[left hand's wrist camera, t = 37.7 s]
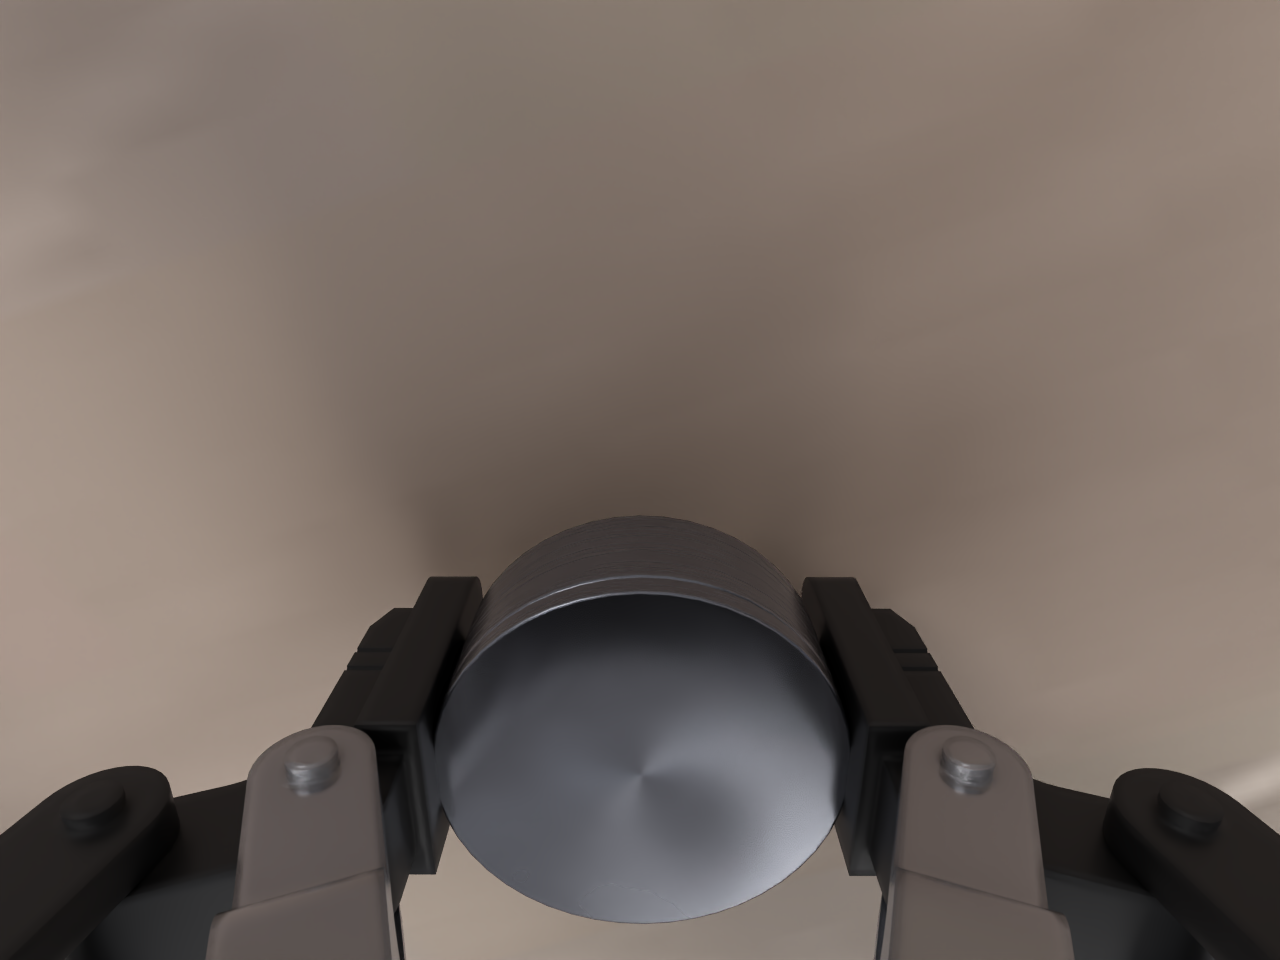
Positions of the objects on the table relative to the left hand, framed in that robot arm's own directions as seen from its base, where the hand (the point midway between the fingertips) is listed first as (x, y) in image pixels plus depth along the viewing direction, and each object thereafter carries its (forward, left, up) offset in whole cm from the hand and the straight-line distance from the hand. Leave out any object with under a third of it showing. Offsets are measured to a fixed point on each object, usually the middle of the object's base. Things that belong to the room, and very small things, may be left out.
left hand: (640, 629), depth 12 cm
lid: (0, 0, +3) cm, 3 cm away
